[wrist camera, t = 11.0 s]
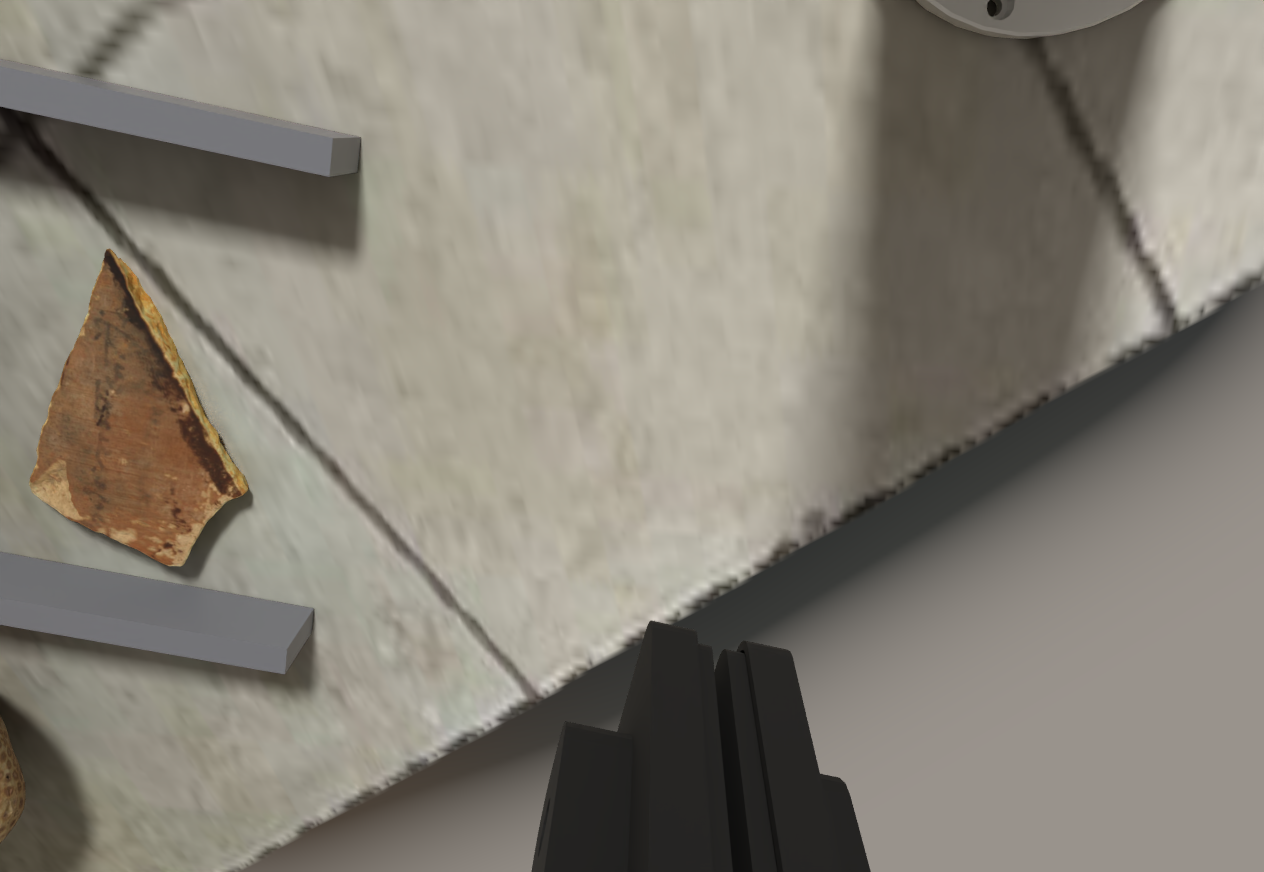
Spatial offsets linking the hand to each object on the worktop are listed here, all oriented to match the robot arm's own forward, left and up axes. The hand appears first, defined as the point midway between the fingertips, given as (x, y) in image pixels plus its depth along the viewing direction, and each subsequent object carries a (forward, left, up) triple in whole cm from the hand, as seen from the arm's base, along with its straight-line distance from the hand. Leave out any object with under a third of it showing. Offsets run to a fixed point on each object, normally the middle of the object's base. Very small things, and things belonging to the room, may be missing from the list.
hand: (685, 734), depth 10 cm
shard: (+8, -20, -24) cm, 32 cm away
